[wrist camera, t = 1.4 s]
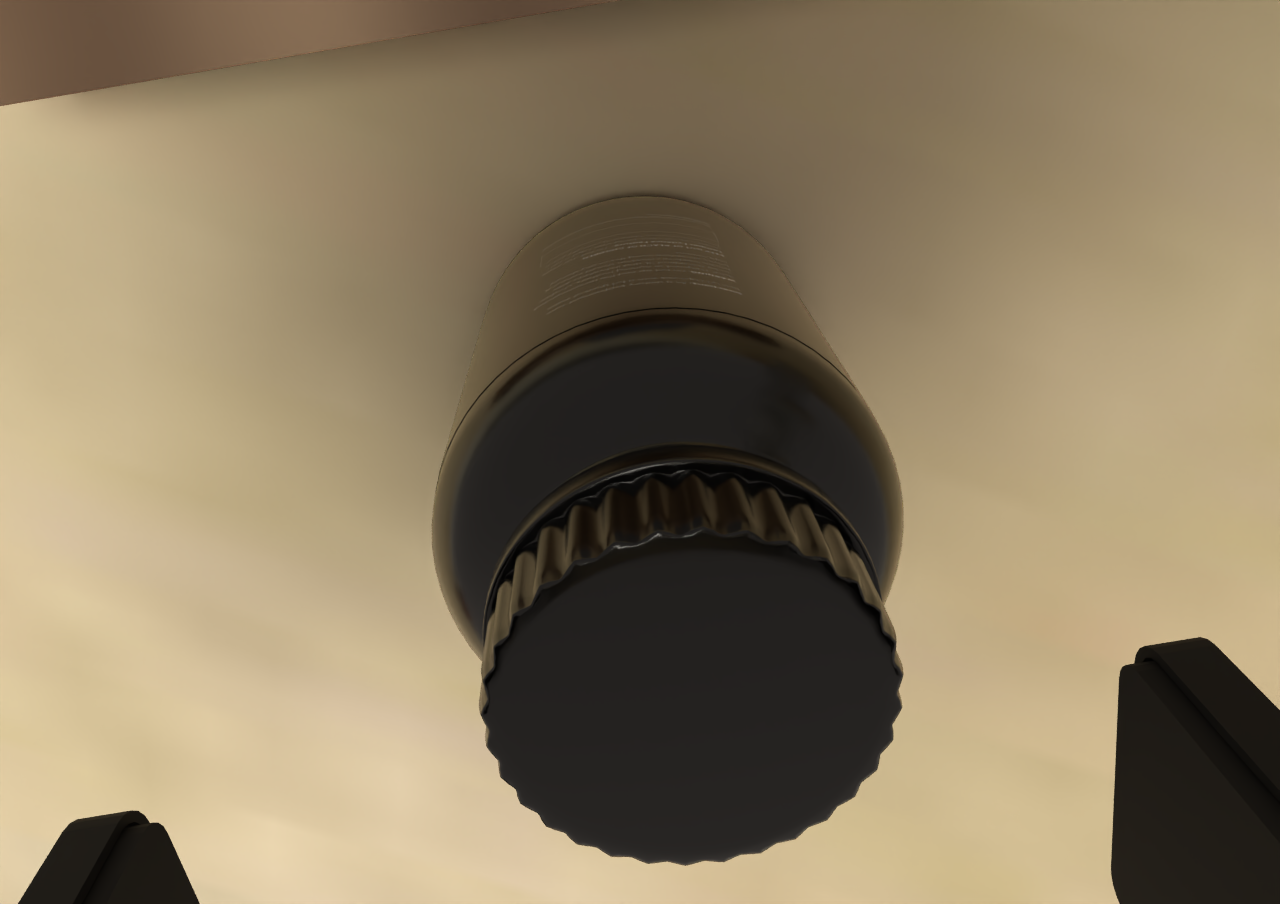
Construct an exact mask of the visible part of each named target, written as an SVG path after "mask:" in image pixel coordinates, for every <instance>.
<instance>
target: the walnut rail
mask: <svg viewBox="0 0 1280 904" xmlns="http://www.w3.org/2000/svg"><path fill="white" fill-rule="evenodd" d="M612 1H618V0H0V106H4V105H9V104H15V103H21V102H27V101H33V100H39V99H45V98H50V97H56V96H62V95H68V94H74V93H80V92H86V91H91V90H97V89H103V88H109V87H115V86H121V85H126V84H132V83H138V82H144V81H150V80H156V79H162V78H167V77H173V76H179V75H185V74H191V73H197V72H203V71H208V70H214V69H220V68H226V67H232V66H238V65H243V64H249V63H255V62H261V61H267V60H273V59H279V58H284V57H290V56H296V55H302V54H308V53H314V52H320V51H325V50H331V49H337V48H343V47H349V46H355V45H361V44H366V43H372V42H378V41H384V40H390V39H396V38H401V37H407V36H413V35H419V34H425V33H431V32H437V31H442V30H448V29H454V28H460V27H466V26H472V25H478V24H483V23H489V22H495V21H501V20H507V19H513V18H518V17H524V16H530V15H536V14H542V13H548V12H554V11H559V10H565V9H571V8H577V7H583V6H589V5H595V4H600V3H606V2H612Z"/></svg>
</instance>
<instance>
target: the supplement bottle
mask: <svg viewBox="0 0 1280 904" xmlns="http://www.w3.org/2000/svg"><path fill="white" fill-rule="evenodd" d="M902 537H903V500H902V493H901V485H900V480H899V476H898V472H897V468H896V464H895V461H894V458H893V456H892V453H891V450H890V448H889V445H888V442H887V440H886V438H885V436H884V434H883V432H882V430H881V428H880V426H879V424H878V422H877V420H876V418H875V417H874V415H873V413H872V412H871V410H870V408H869V407H868V405H867V403H866V402H865V400H864V399H863V397H862V395H861V394H860V392H859V391H858V389H857V387H856V386H855V384H854V383H853V381H852V380H851V378H850V376H849V375H848V373H847V372H846V370H845V369H844V367H843V365H842V364H841V362H840V361H839V359H838V358H837V356H836V354H835V353H834V351H833V350H832V348H831V347H830V345H829V343H828V342H827V340H826V339H825V337H824V336H823V334H822V332H821V331H820V329H819V328H818V326H817V325H816V323H815V321H814V320H813V318H812V317H811V315H810V314H809V312H808V310H807V309H806V307H805V306H804V304H803V303H802V301H801V299H800V298H799V296H798V295H797V293H796V292H795V290H794V288H793V287H792V285H791V284H790V282H789V281H788V279H787V278H786V276H785V275H784V273H783V271H782V270H781V269H780V267H779V266H778V264H777V263H776V262H775V260H774V259H773V258H772V257H771V255H770V254H769V253H768V252H767V251H766V249H765V248H764V247H763V246H762V245H761V244H760V243H759V242H758V241H757V240H756V239H754V238H753V237H752V236H751V235H750V234H749V233H747V232H746V231H745V230H744V229H742V228H741V227H740V226H738V225H737V224H735V223H734V222H732V221H731V220H729V219H727V218H726V217H724V216H722V215H720V214H718V213H716V212H714V211H712V210H710V209H707V208H705V207H702V206H699V205H697V204H694V203H690V202H686V201H683V200H679V199H672V198H666V197H655V196H632V197H623V198H616V199H610V200H606V201H602V202H598V203H595V204H592V205H589V206H586V207H583V208H581V209H578V210H576V211H574V212H572V213H570V214H568V215H566V216H564V217H562V218H561V219H559V220H557V221H556V222H554V223H552V224H551V225H549V226H548V227H547V228H545V229H544V230H543V231H541V232H540V233H539V234H537V235H536V236H535V237H534V238H533V239H532V240H531V241H530V242H529V243H528V244H526V246H525V247H524V248H523V249H522V250H521V251H520V252H519V253H518V254H517V256H516V257H515V258H514V259H513V261H512V262H511V264H510V265H509V266H508V268H507V269H506V271H505V272H504V274H503V276H502V277H501V279H500V281H499V283H498V284H497V286H496V288H495V291H494V293H493V295H492V297H491V300H490V302H489V305H488V308H487V311H486V313H485V316H484V319H483V323H482V326H481V329H480V332H479V336H478V339H477V343H476V346H475V349H474V353H473V356H472V360H471V363H470V367H469V370H468V374H467V377H466V381H465V384H464V388H463V391H462V395H461V398H460V402H459V405H458V409H457V412H456V416H455V419H454V423H453V426H452V429H451V433H450V436H449V440H448V443H447V447H446V450H445V454H444V457H443V461H442V465H441V468H440V473H439V477H438V482H437V487H436V493H435V499H434V507H433V518H432V548H433V555H434V563H435V569H436V573H437V577H438V581H439V585H440V588H441V591H442V594H443V597H444V599H445V602H446V605H447V607H448V609H449V611H450V613H451V615H452V617H453V619H454V621H455V623H456V625H457V627H458V629H459V631H460V632H461V634H462V635H463V637H464V638H465V640H466V641H467V643H468V644H469V646H470V647H471V649H472V650H473V651H474V652H475V654H476V655H477V656H478V657H479V659H480V660H481V661H482V667H481V674H482V685H481V692H480V700H479V709H480V714H481V716H482V719H483V721H484V723H485V724H486V732H485V741H486V746H487V748H488V749H489V751H490V752H491V753H492V754H493V755H494V757H495V758H496V759H497V760H498V766H499V773H500V777H501V778H502V779H503V780H504V781H506V782H507V783H508V784H509V785H511V786H512V787H514V788H515V789H516V791H517V797H518V799H519V801H520V803H521V804H522V805H524V806H525V807H527V808H529V809H531V810H533V811H535V812H537V813H538V814H539V816H540V817H541V820H542V821H543V823H544V824H545V825H546V827H549V828H552V829H554V830H557V831H561V832H564V833H566V834H567V836H568V837H569V838H570V839H571V840H573V841H574V842H575V843H576V844H578V845H584V846H592V847H597V848H598V849H600V850H601V851H603V852H604V853H606V854H608V855H610V856H611V857H633V858H635V859H637V860H639V861H642V862H645V863H647V864H650V863H658V862H666V861H668V862H672V863H676V864H680V865H685V866H686V865H690V864H694V863H698V862H701V861H714V862H725V861H727V860H730V859H732V858H734V857H736V856H739V855H741V854H757V853H762V852H763V851H765V850H767V849H768V848H770V847H771V846H773V845H774V844H776V843H780V842H785V841H789V840H794V839H796V838H797V837H798V836H800V835H801V834H802V833H803V831H805V830H806V829H807V828H808V827H810V826H813V825H816V824H819V823H821V822H824V821H826V820H828V818H829V817H830V816H831V815H832V813H833V811H834V810H835V809H836V808H837V806H839V805H841V804H843V803H845V802H847V801H849V800H850V799H852V798H854V797H855V795H856V793H857V791H858V789H859V786H860V784H861V782H862V781H864V780H865V779H866V778H868V777H869V776H870V775H872V774H873V773H874V772H875V771H876V770H877V768H878V764H879V759H880V754H881V753H882V752H883V751H884V750H885V749H886V748H887V747H888V745H889V744H890V743H891V742H892V741H893V727H892V724H893V723H894V721H895V719H896V718H897V716H898V714H899V713H900V711H901V709H902V701H901V697H900V694H899V690H898V689H899V687H900V684H901V681H902V677H903V667H902V663H901V660H900V658H899V656H898V654H897V651H896V634H895V630H894V627H893V625H892V623H891V621H890V618H889V616H888V614H887V612H886V610H885V608H884V604H885V601H886V599H887V597H888V594H889V592H890V590H891V587H892V583H893V580H894V577H895V574H896V571H897V567H898V562H899V557H900V552H901V547H902Z"/></svg>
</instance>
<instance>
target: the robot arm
mask: <svg viewBox="0 0 1280 904" xmlns="http://www.w3.org/2000/svg"><path fill="white" fill-rule="evenodd" d="M1111 875H1112V881H1113V886H1114V889H1115V892H1116V896H1117V898H1118V901H1119V903H1120V904H1280V710H1279V709H1278V708H1277V707H1276V706H1275V705H1274V704H1273V703H1272V702H1271V701H1270V700H1269V699H1268V698H1267V697H1266V696H1265V695H1264V694H1263V693H1262V692H1261V691H1260V690H1259V689H1258V688H1257V687H1256V686H1255V685H1254V684H1253V683H1252V682H1251V681H1250V680H1249V679H1248V678H1247V677H1246V676H1245V675H1244V674H1243V673H1242V672H1241V671H1240V670H1239V668H1238V667H1237V666H1236V665H1235V664H1234V663H1233V662H1232V661H1231V660H1230V659H1229V658H1228V657H1227V656H1226V655H1225V654H1224V653H1223V652H1222V651H1221V650H1220V649H1219V648H1218V647H1217V646H1216V645H1215V644H1213V643H1212V642H1211V641H1209V640H1208V639H1205V638H1201V637H1198V638H1192V639H1186V640H1180V641H1174V642H1168V643H1161V644H1155V645H1149V646H1144V647H1142V648H1140V649H1139V650H1138V652H1137V654H1136V657H1135V663H1134V664H1129V665H1125V666H1123V667H1122V669H1121V671H1120V677H1119V695H1118V719H1117V742H1116V765H1115V789H1114V812H1113V835H1112V859H1111ZM18 904H200V903H199V901H198V899H197V897H196V895H195V892H194V890H193V888H192V886H191V884H190V881H189V879H188V877H187V875H186V873H185V870H184V868H183V866H182V864H181V861H180V859H179V857H178V855H177V853H176V850H175V848H174V846H173V844H172V842H171V839H170V837H169V835H168V833H167V831H166V830H165V828H164V826H162V825H161V824H159V823H149V821H148V820H147V818H146V816H145V815H143V814H142V813H140V812H139V811H126V812H120V813H114V814H108V815H101V816H95V817H89V818H83V819H77V820H75V821H74V822H72V823H70V824H69V825H68V826H67V827H66V828H65V830H64V831H63V832H62V834H61V835H60V837H59V838H58V840H57V842H56V843H55V845H54V846H53V848H52V850H51V851H50V853H49V855H48V856H47V858H46V859H45V861H44V863H43V864H42V866H41V867H40V869H39V871H38V872H37V874H36V875H35V877H34V879H33V880H32V882H31V884H30V885H29V887H28V888H27V890H26V892H25V893H24V895H23V896H22V898H21V900H20V901H19V903H18Z"/></svg>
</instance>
